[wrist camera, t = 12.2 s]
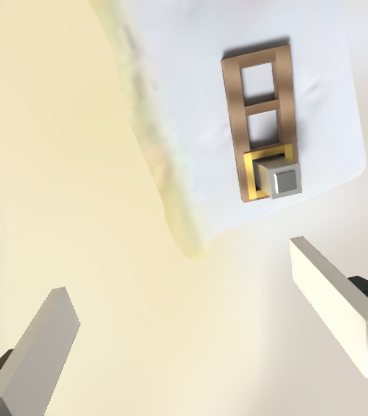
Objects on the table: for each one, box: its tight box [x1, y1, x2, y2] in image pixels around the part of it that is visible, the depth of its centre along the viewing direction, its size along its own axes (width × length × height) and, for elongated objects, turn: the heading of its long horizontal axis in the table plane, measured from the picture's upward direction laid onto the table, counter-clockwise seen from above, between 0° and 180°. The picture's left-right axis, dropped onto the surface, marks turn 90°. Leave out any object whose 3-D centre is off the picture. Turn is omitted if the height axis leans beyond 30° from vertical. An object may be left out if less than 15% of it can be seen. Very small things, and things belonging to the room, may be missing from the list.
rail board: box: [221, 44, 298, 203], centre depth 47 cm, size 23×10×2 cm, turn 12°
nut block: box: [252, 154, 302, 199], centre depth 46 cm, size 4×4×9 cm
